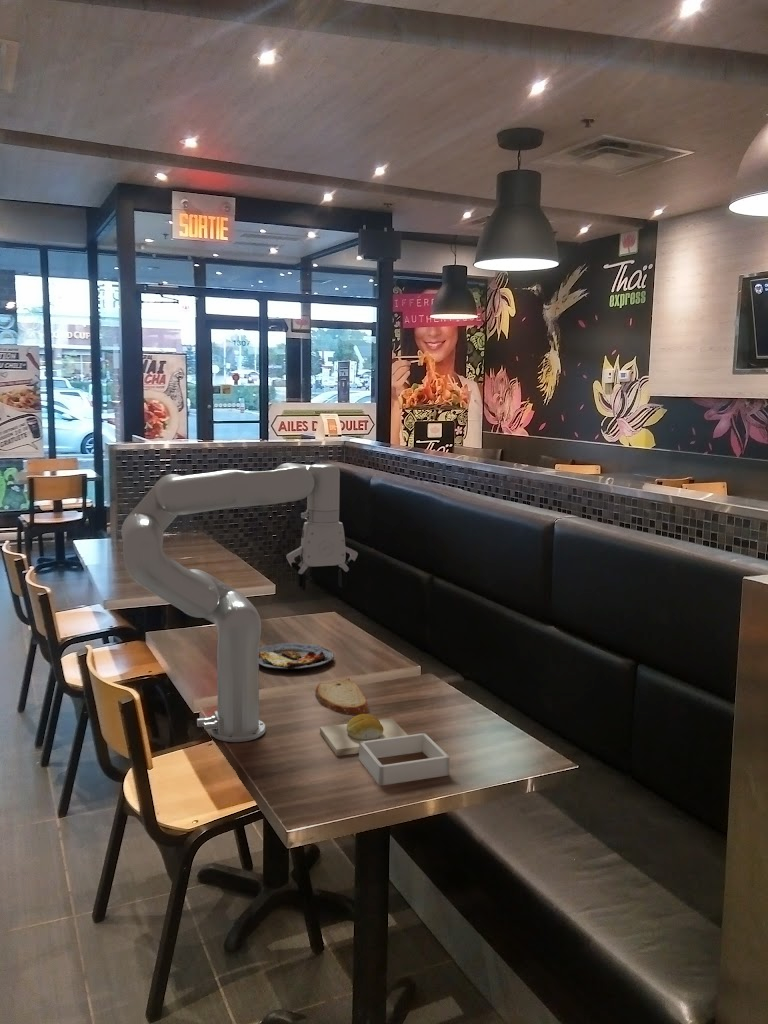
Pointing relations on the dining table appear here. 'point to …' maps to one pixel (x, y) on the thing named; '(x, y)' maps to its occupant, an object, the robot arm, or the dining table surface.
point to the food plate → (294, 656)
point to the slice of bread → (342, 697)
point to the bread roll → (364, 727)
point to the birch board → (349, 745)
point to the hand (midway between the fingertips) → (322, 588)
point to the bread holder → (404, 770)
